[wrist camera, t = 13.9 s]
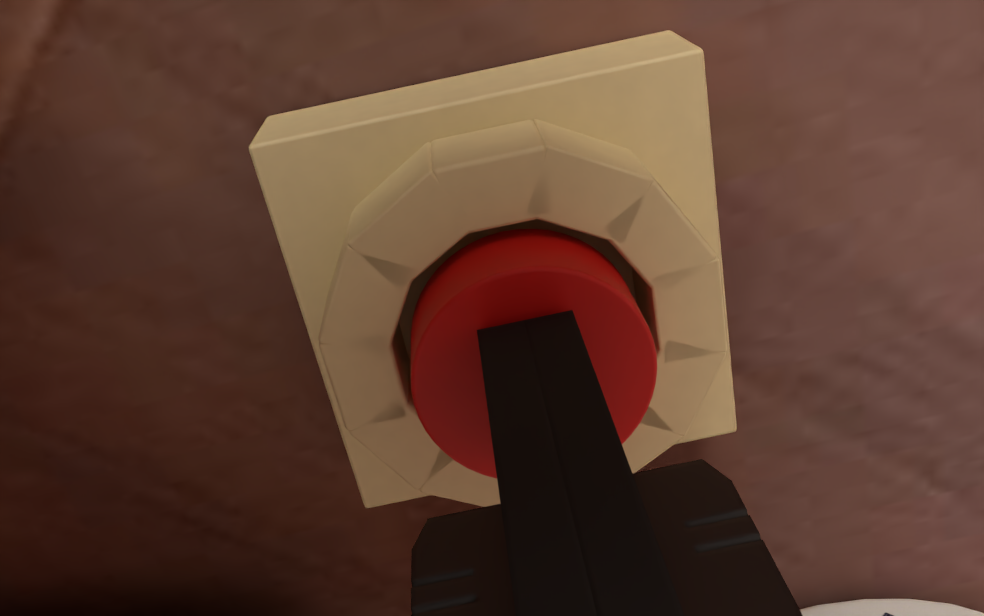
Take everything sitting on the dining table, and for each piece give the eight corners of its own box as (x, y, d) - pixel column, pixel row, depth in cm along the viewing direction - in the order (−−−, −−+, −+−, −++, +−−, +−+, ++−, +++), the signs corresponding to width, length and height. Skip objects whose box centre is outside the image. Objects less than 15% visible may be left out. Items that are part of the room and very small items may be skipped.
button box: (369, 450, 21) (360, 569, 17) (265, 116, 17) (226, 177, 14) (707, 380, 21) (769, 485, 17) (671, 28, 17) (739, 67, 14)
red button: (438, 446, 17) (440, 505, 15) (386, 254, 15) (383, 297, 14) (647, 403, 17) (670, 457, 15) (619, 204, 15) (642, 242, 13)
